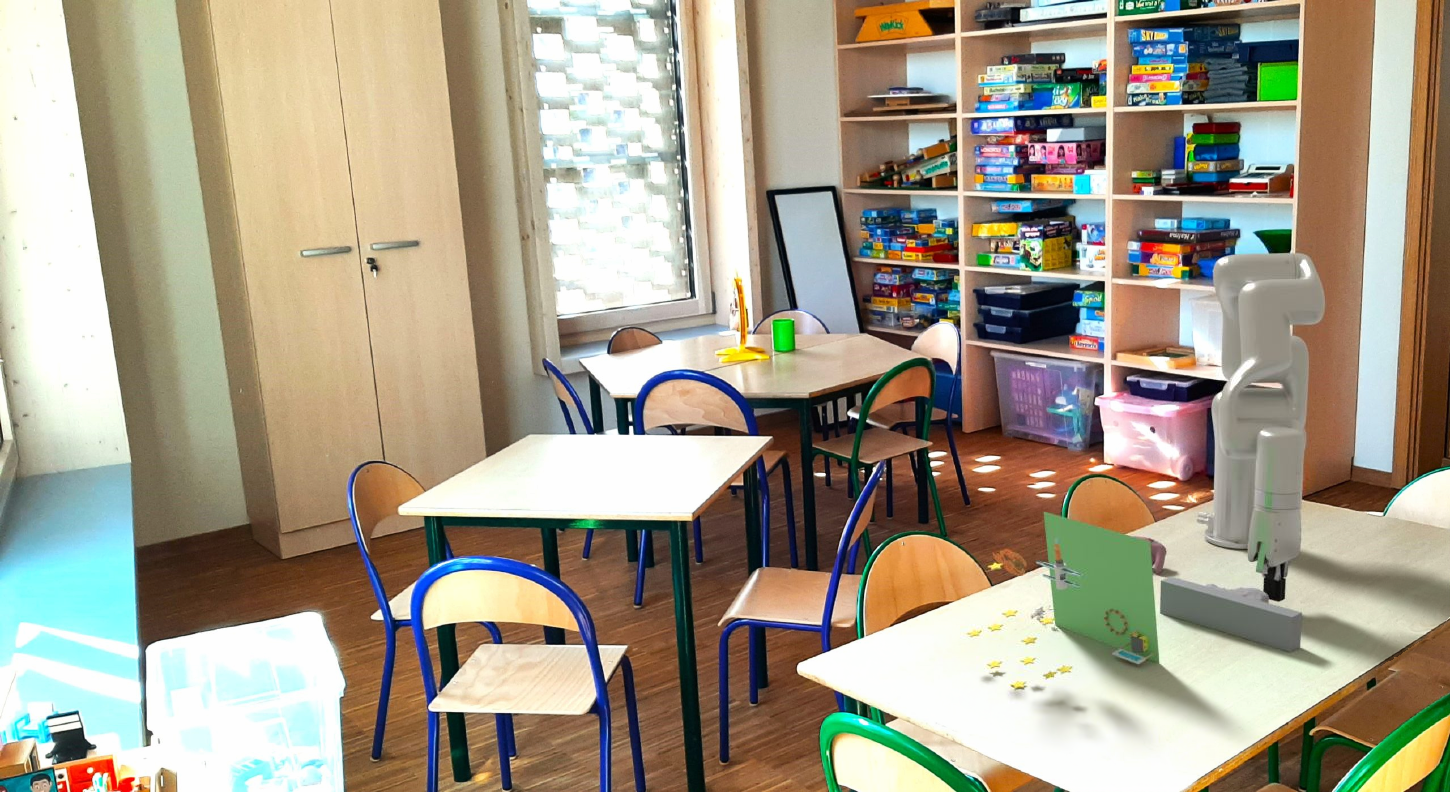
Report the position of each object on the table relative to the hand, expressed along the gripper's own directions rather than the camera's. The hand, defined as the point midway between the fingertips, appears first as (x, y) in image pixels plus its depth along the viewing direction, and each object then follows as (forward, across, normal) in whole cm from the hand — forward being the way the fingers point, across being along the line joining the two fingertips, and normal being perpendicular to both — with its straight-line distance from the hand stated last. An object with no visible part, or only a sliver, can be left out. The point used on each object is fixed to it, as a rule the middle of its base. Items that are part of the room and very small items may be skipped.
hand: (1273, 598), depth 222 cm
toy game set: (+2, +46, -12) cm, 47 cm away
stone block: (+2, +8, -4) cm, 9 cm away
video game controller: (+2, -2, -29) cm, 29 cm away
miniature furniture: (+2, +24, -25) cm, 34 cm away
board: (+2, +14, 0) cm, 15 cm away
